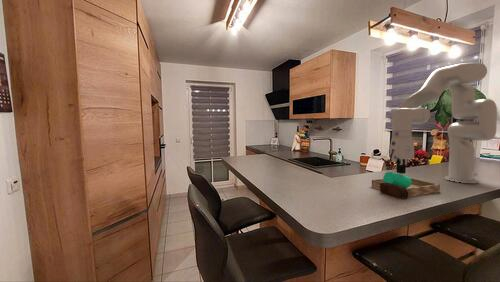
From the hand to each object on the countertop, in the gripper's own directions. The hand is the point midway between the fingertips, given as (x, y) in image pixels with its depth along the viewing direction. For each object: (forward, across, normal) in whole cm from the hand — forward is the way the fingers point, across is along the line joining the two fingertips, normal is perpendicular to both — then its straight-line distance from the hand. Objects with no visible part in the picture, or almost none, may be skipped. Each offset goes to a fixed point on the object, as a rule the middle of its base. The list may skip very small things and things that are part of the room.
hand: (400, 172), depth 100 cm
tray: (+8, +2, 0) cm, 8 cm away
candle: (+5, +3, 0) cm, 6 cm away
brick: (+8, -10, -5) cm, 14 cm away
